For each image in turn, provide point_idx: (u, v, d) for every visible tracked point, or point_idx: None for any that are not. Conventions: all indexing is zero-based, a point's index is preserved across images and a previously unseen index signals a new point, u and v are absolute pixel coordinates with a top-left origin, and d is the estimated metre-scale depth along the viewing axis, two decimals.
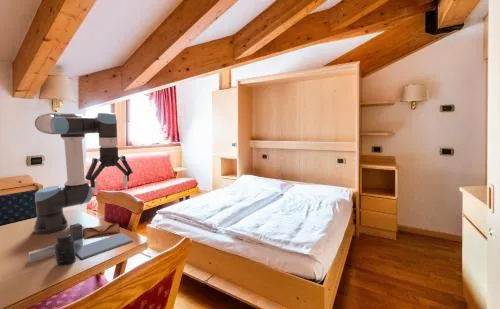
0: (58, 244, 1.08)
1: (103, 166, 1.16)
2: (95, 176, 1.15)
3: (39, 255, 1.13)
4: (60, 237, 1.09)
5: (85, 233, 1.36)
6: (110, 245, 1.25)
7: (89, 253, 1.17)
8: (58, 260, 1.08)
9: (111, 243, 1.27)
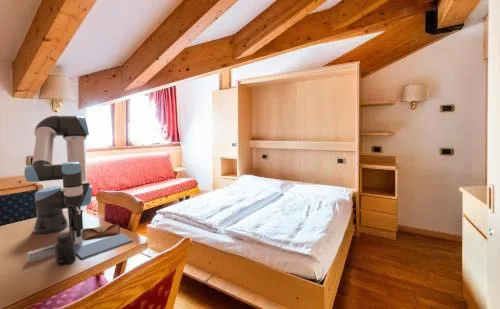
0: (58, 244, 1.08)
1: (69, 213, 1.23)
2: (70, 223, 1.25)
3: (38, 255, 1.13)
4: (60, 237, 1.09)
5: (85, 234, 1.35)
6: (110, 245, 1.25)
7: (89, 253, 1.17)
8: (58, 260, 1.08)
9: (111, 243, 1.27)
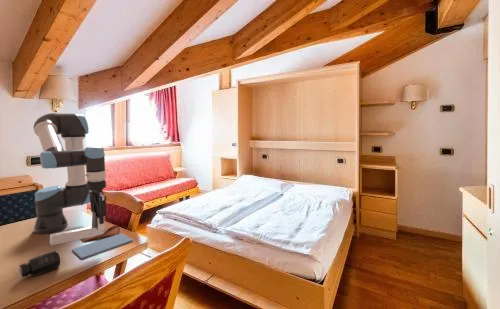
0: (30, 274, 1.01)
1: (91, 200, 1.19)
2: (93, 210, 1.21)
3: (61, 238, 1.08)
4: (21, 275, 0.99)
5: None
6: (110, 245, 1.25)
7: (89, 253, 1.17)
8: None
9: (111, 243, 1.27)
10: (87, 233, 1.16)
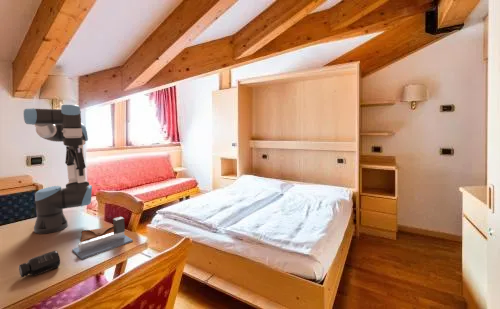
0: (30, 274, 1.01)
1: (67, 154, 1.26)
2: (67, 162, 1.29)
3: (88, 246, 1.20)
4: (21, 274, 0.99)
5: (82, 236, 1.33)
6: (110, 245, 1.25)
7: (89, 253, 1.17)
8: None
9: (111, 243, 1.27)
10: (110, 239, 1.27)
